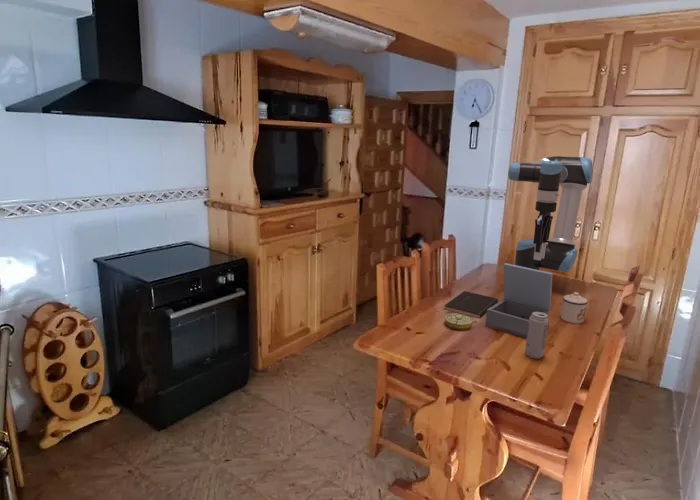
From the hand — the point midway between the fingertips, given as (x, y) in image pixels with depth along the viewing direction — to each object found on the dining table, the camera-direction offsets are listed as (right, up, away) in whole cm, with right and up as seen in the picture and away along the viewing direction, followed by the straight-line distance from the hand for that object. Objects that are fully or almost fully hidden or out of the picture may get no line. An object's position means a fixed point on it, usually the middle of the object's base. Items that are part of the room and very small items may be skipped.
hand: (538, 258), depth 183 cm
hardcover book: (-23, -22, +15) cm, 35 cm away
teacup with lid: (+16, -25, +4) cm, 30 cm away
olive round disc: (-34, -26, -5) cm, 43 cm away
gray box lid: (-7, -11, -5) cm, 14 cm away
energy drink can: (-13, -33, -28) cm, 45 cm away
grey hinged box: (-11, -27, -5) cm, 29 cm away
